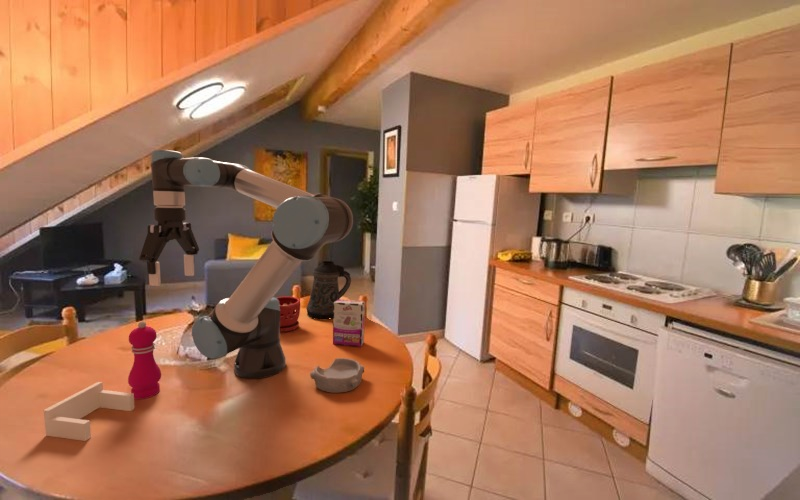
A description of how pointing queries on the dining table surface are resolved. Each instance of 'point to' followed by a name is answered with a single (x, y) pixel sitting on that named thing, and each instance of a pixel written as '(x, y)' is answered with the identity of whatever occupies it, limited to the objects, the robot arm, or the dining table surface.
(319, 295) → the beer stein
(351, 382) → the dish
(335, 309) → the candy bar box
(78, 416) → the bracket
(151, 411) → the dining table surface
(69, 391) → the dining table surface
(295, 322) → the plant pot
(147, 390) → the pepper mill
